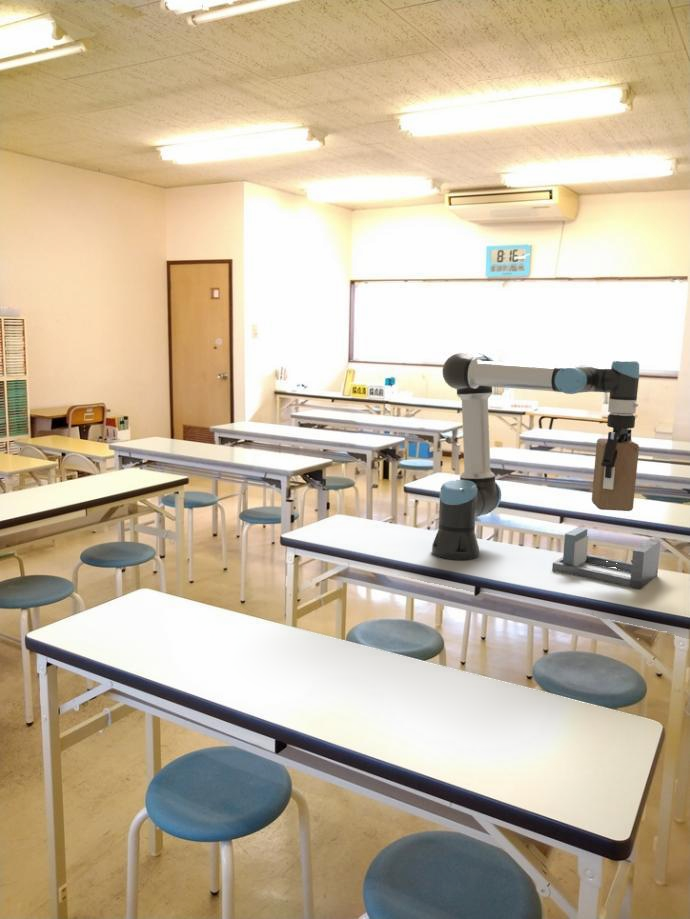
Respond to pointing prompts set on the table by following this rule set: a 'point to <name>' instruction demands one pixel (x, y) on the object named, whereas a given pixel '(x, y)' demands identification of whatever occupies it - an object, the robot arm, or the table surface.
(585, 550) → the block
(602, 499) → the wooden block
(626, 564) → the vise bed
